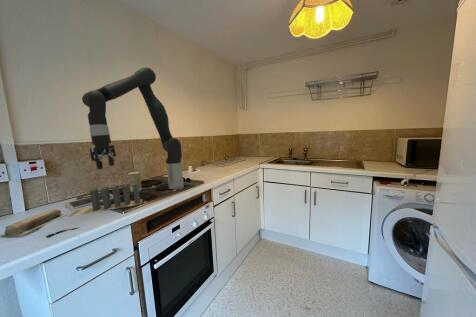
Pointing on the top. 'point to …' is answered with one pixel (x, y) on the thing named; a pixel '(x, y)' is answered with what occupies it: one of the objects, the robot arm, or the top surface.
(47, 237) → the chef's knife
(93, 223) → the top surface
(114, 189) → the domino
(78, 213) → the oak board
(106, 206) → the domino
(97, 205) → the domino
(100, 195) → the picture frame
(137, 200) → the domino
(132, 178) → the skincare box
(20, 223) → the packaged product
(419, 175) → the top surface
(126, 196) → the domino
